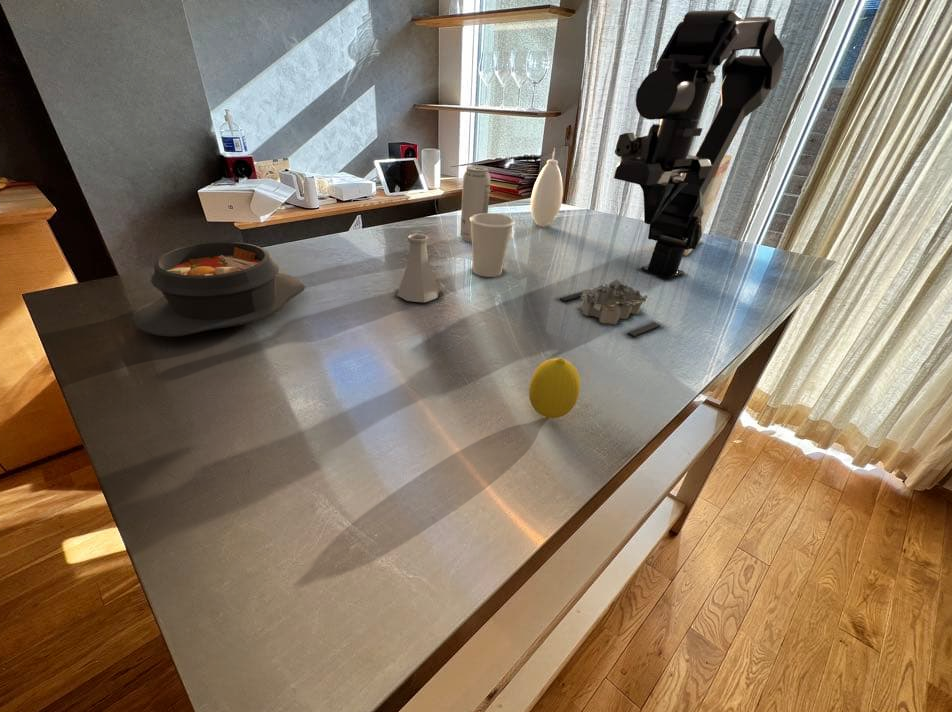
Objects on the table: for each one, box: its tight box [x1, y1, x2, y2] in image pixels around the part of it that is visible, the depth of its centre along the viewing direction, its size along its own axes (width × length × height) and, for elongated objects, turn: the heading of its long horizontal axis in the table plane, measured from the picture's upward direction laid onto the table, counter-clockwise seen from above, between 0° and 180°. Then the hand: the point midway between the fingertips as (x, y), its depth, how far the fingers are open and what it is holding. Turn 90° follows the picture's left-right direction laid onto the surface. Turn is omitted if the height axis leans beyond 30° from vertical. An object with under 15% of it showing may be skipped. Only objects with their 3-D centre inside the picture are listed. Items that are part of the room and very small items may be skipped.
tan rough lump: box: [580, 279, 648, 325], centre depth 75 cm, size 11×8×4 cm
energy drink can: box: [459, 165, 492, 243], centre depth 100 cm, size 6×6×15 cm
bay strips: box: [559, 291, 661, 338], centre depth 76 cm, size 7×16×1 cm, turn 36°
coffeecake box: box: [681, 154, 733, 257], centre depth 103 cm, size 15×7×20 cm, turn 144°
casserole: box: [131, 241, 306, 338], centre depth 66 cm, size 25×19×8 cm
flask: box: [396, 233, 440, 304], centre depth 74 cm, size 7×7×10 cm
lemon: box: [528, 357, 581, 419], centre depth 49 cm, size 6×6×8 cm
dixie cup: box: [470, 212, 515, 278], centre depth 85 cm, size 8×8×10 cm
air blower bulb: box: [530, 147, 564, 228], centre depth 111 cm, size 8×8×18 cm
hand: (648, 223), depth 78 cm, fingers closed
